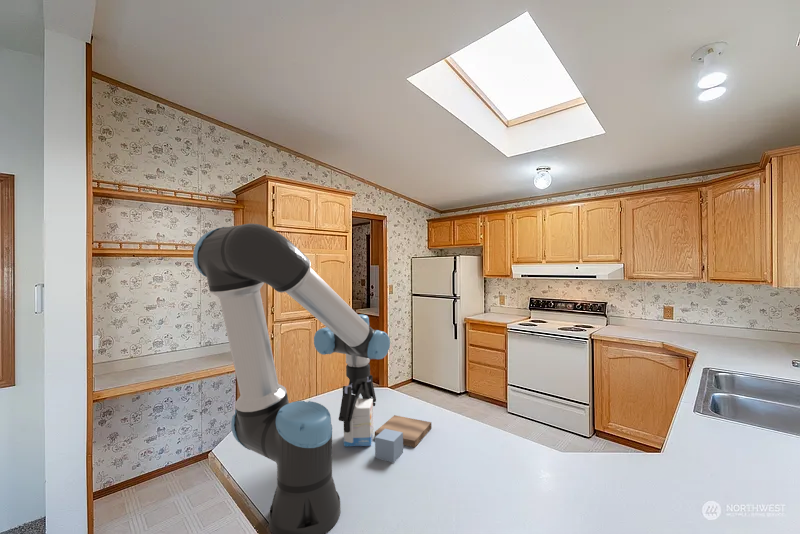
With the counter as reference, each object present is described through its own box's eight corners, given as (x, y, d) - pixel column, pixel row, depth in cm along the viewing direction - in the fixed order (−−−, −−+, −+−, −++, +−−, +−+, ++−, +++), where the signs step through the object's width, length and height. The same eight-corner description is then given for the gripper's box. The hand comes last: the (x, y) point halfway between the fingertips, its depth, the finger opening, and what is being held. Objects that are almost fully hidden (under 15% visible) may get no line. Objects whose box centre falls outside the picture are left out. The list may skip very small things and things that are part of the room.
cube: (393, 463, 98) (393, 441, 98) (375, 458, 101) (375, 437, 101) (403, 452, 103) (402, 432, 103) (385, 448, 106) (384, 428, 106)
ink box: (370, 446, 107) (370, 402, 107) (343, 446, 107) (342, 402, 107) (373, 433, 115) (373, 392, 115) (348, 433, 116) (347, 392, 116)
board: (414, 447, 106) (414, 440, 106) (374, 438, 112) (374, 431, 112) (431, 428, 119) (431, 422, 119) (394, 420, 125) (394, 415, 125)
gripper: (346, 375, 99) (348, 453, 99) (385, 356, 120) (386, 421, 120) (325, 372, 103) (326, 448, 102) (367, 354, 123) (367, 417, 123)
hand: (359, 433), depth 111 cm, fingers closed on ink box, 11 cm apart
